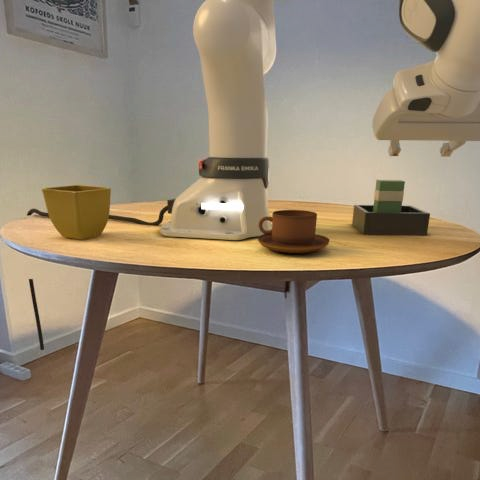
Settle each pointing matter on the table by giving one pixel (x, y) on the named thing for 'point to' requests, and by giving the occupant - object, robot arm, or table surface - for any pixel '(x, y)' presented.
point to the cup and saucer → (292, 232)
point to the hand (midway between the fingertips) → (418, 153)
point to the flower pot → (78, 209)
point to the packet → (388, 196)
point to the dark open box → (390, 221)
